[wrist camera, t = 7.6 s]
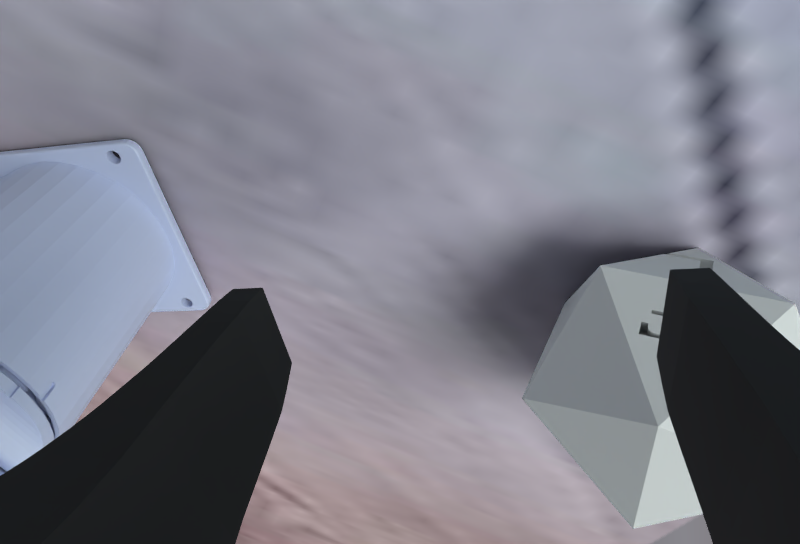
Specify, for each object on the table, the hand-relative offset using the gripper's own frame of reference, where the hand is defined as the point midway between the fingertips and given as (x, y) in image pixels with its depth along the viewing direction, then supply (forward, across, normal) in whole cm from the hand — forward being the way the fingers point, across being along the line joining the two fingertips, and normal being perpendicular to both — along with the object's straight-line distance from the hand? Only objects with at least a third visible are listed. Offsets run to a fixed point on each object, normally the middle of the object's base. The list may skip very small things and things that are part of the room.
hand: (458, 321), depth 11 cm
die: (+11, -6, +9) cm, 15 cm away
